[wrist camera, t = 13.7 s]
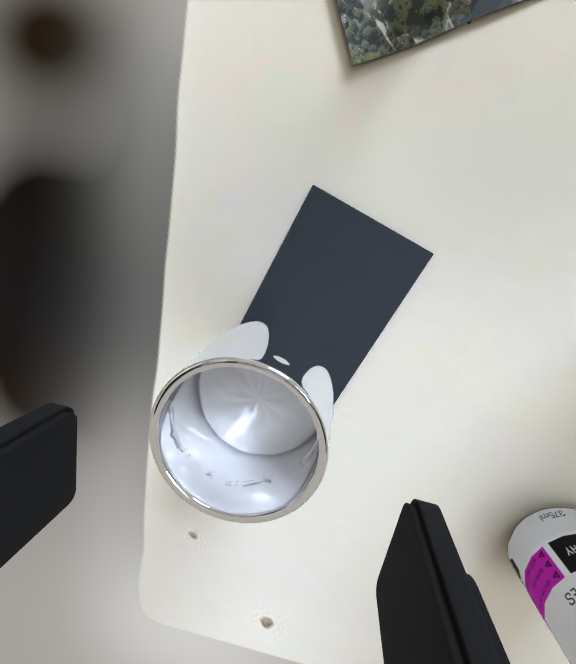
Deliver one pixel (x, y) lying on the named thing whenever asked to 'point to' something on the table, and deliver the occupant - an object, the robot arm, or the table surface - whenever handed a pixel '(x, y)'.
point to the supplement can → (549, 570)
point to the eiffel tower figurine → (404, 22)
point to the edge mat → (341, 278)
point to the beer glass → (249, 419)
